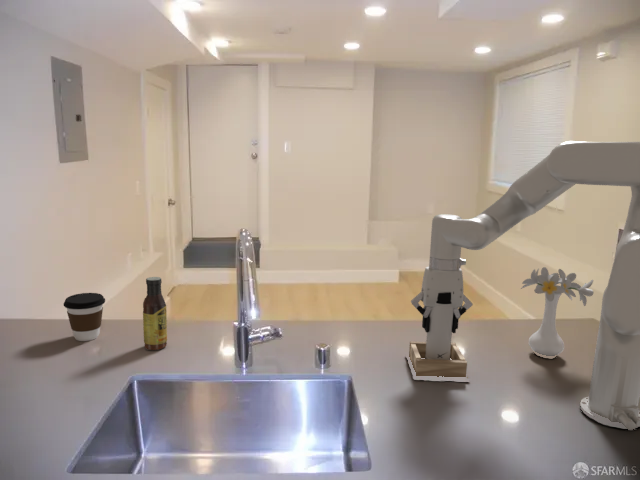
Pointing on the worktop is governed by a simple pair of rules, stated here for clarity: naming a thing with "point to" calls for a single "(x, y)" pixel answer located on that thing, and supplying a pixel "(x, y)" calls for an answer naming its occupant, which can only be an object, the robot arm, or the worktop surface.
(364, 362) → the worktop surface
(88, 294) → the coffee cup
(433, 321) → the travel mug
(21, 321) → the worktop surface
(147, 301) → the sauce bottle
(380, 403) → the worktop surface
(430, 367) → the wooden square tray
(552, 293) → the flower vase
